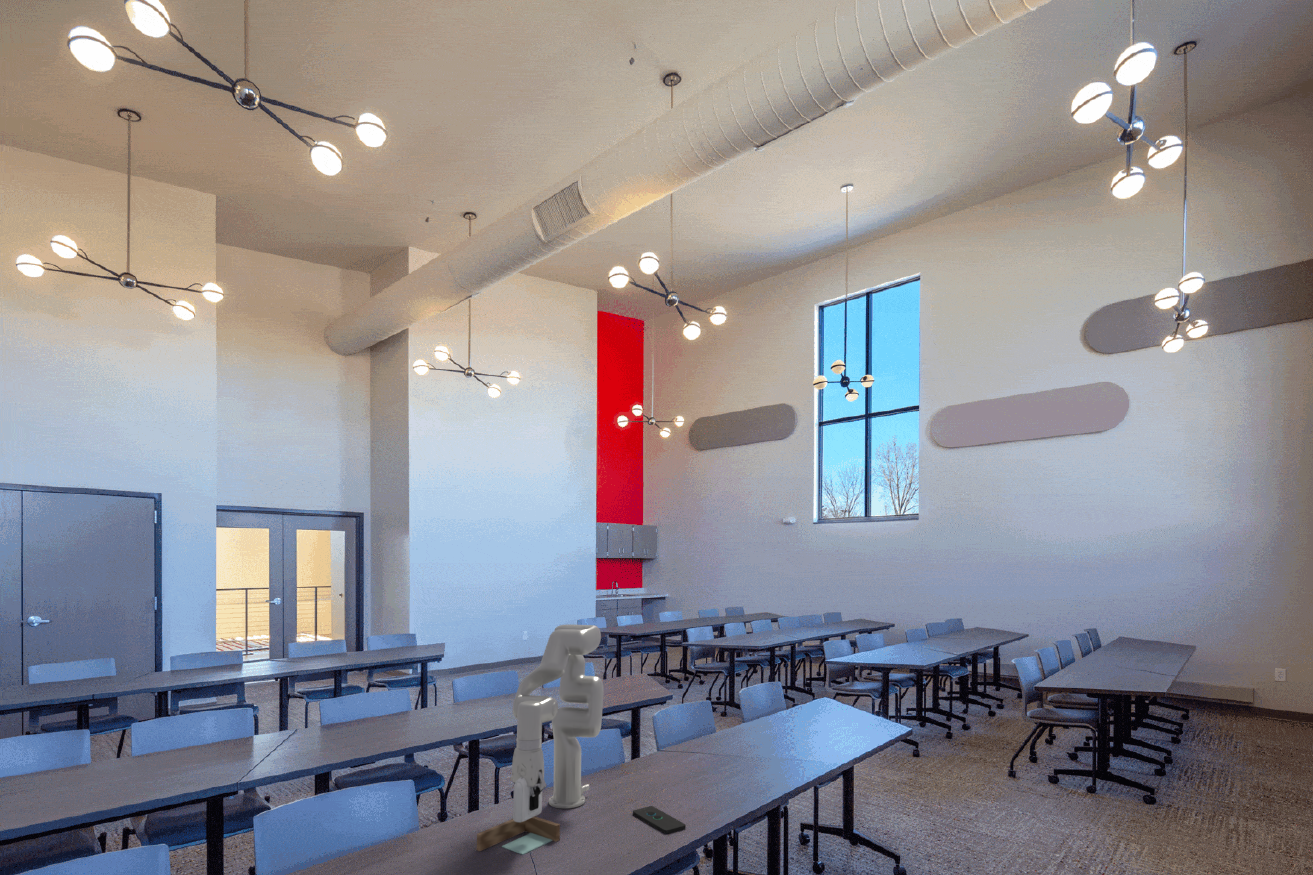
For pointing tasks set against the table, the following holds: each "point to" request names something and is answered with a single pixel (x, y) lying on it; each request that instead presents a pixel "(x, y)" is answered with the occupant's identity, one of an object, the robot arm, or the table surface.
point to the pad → (526, 843)
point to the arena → (517, 831)
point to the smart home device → (659, 820)
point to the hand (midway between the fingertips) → (527, 806)
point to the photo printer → (524, 801)
